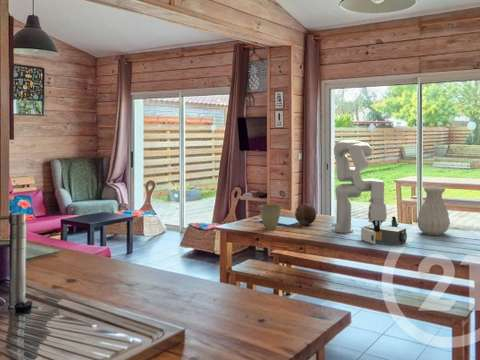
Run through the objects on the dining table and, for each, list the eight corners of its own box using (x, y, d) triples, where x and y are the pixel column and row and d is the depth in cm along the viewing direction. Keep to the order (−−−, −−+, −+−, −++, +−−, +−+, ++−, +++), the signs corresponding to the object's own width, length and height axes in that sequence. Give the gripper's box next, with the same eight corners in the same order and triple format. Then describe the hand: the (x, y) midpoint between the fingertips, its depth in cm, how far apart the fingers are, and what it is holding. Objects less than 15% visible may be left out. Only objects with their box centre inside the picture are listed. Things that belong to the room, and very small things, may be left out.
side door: (359, 239, 300) (359, 227, 299) (362, 238, 300) (362, 227, 300) (372, 244, 286) (372, 231, 285) (375, 244, 286) (375, 231, 286)
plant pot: (264, 226, 343) (265, 203, 342) (284, 228, 336) (284, 205, 335) (255, 230, 330) (255, 206, 329) (275, 232, 323) (275, 208, 322)
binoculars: (381, 217, 323) (397, 216, 321) (382, 232, 324) (398, 231, 322) (382, 219, 314) (398, 218, 312) (383, 235, 315) (400, 234, 313)
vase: (432, 238, 304) (433, 190, 301) (409, 231, 322) (411, 186, 319) (456, 235, 311) (458, 188, 308) (433, 229, 330) (435, 185, 327)
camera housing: (362, 239, 300) (363, 225, 299) (372, 236, 309) (372, 222, 308) (400, 245, 284) (400, 230, 283) (409, 242, 292) (409, 227, 291)
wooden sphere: (317, 223, 353) (317, 202, 352) (314, 227, 339) (314, 205, 337) (296, 222, 357) (296, 202, 356) (293, 226, 343) (293, 205, 341)
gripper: (369, 202, 282) (369, 233, 284) (391, 201, 287) (391, 232, 288) (362, 200, 290) (362, 231, 291) (384, 199, 294) (384, 229, 295)
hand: (376, 231), depth 290 cm, fingers closed
